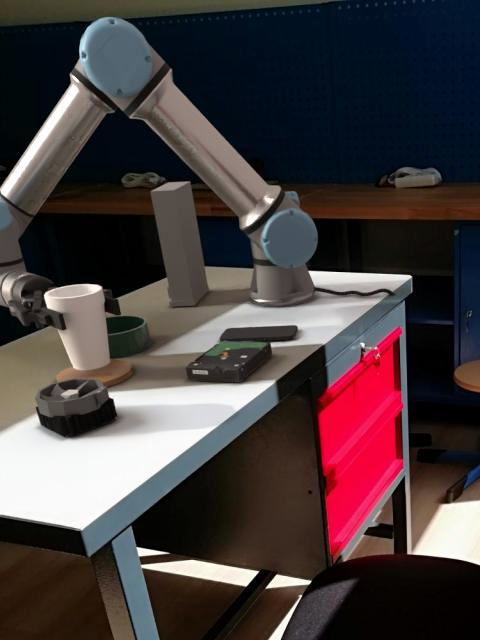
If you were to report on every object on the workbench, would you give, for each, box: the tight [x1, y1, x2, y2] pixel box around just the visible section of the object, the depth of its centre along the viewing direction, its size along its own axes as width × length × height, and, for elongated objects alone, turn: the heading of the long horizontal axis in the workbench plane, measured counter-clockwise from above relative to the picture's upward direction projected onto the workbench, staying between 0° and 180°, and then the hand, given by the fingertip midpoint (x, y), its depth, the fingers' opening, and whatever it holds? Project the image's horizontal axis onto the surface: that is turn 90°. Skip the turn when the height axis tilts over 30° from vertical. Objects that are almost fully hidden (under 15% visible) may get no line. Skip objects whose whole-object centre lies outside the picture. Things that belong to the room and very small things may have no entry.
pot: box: [106, 314, 152, 359], centre depth 150 cm, size 13×13×4 cm
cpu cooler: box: [34, 378, 118, 438], centre depth 118 cm, size 10×6×10 cm
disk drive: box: [184, 340, 273, 383], centre depth 137 cm, size 10×3×15 cm
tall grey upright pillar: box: [150, 180, 210, 308], centre depth 175 cm, size 14×6×25 cm, turn 178°
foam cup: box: [44, 283, 111, 370], centre depth 133 cm, size 10×9×13 cm
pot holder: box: [55, 359, 133, 388], centre depth 137 cm, size 13×13×1 cm
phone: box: [219, 324, 299, 343], centre depth 153 cm, size 7×1×15 cm
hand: (90, 314), depth 128 cm, fingers closed on foam cup, 9 cm apart
